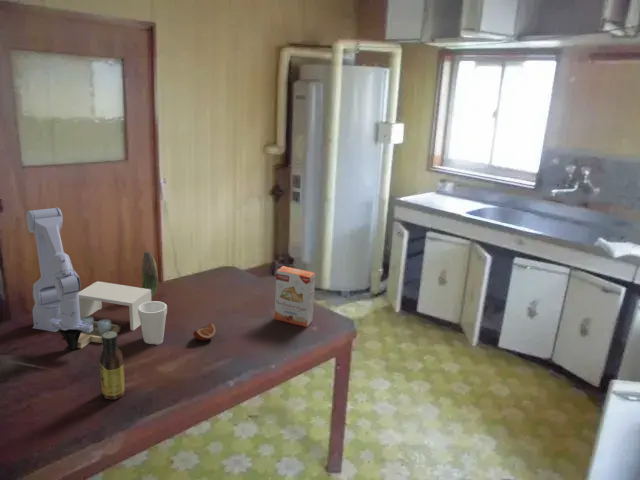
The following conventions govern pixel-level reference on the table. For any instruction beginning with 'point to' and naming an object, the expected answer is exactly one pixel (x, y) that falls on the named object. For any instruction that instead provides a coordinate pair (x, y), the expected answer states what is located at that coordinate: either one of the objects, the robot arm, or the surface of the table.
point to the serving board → (94, 335)
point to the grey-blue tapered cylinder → (104, 326)
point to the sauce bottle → (111, 367)
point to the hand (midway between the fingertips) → (73, 348)
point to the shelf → (113, 299)
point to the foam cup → (152, 321)
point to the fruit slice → (205, 332)
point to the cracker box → (294, 296)
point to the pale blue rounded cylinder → (90, 321)
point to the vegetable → (149, 273)
